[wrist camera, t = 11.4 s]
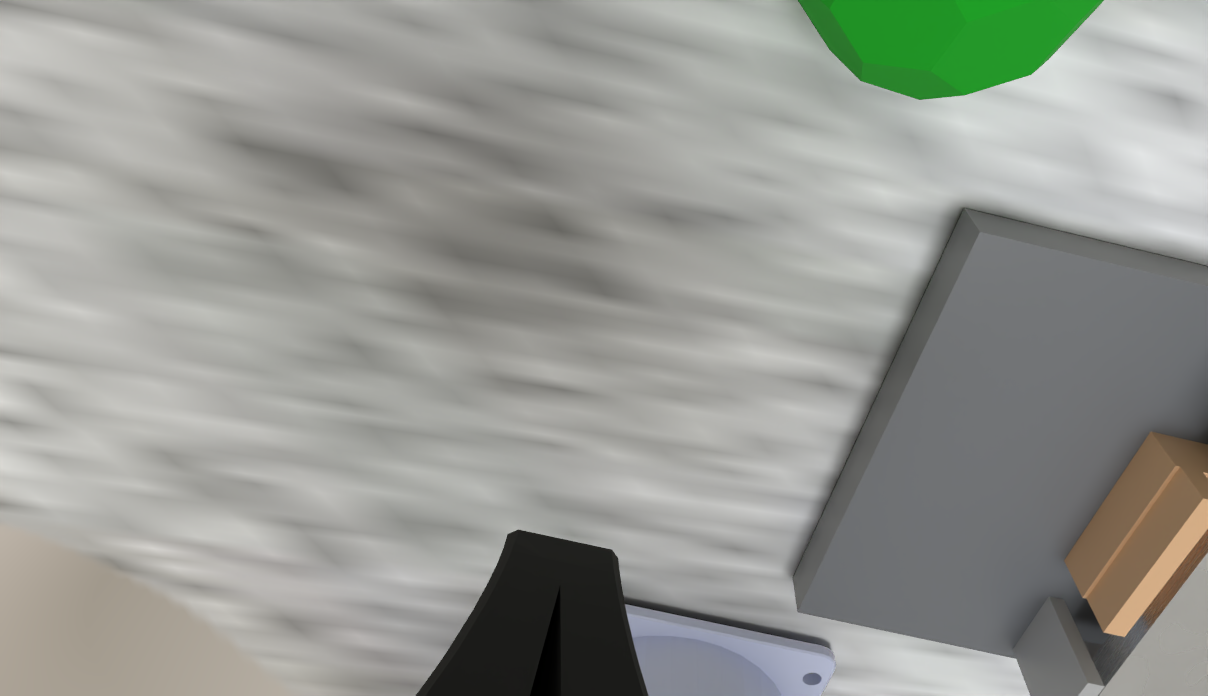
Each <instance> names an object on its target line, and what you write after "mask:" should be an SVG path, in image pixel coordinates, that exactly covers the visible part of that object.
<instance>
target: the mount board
mask: <svg viewBox="0 0 1208 696" xmlns="http://www.w3.org/2000/svg"><path fill="white" fill-rule="evenodd" d="M1207 529H1208V266H1203V265H1199V264H1195V263H1191V262H1187V261H1183V260H1178V259H1174V258H1170V257H1166V256H1162V255H1158V254H1153V253H1149V252H1145V251H1141V250H1137V249H1133V248H1128V247H1124V246H1120V245H1116V244H1112V243H1108V242H1104V241H1099V240H1095V239H1091V238H1087V237H1083V236H1079V235H1074V234H1070V233H1066V232H1062V231H1058V230H1054V229H1049V228H1045V227H1041V226H1037V225H1033V224H1029V223H1024V222H1020V221H1016V220H1012V219H1008V218H1004V217H999V216H995V215H991V214H987V213H983V212H979V211H974V210H970V209H966V208H964V209H963V211H962V213H961V216H960V218H959V220H958V222H957V224H956V226H955V229H954V231H953V233H952V235H951V237H950V239H949V242H948V244H947V246H946V248H945V250H944V252H943V255H942V257H941V259H940V261H939V263H938V265H937V267H936V270H935V272H934V274H933V276H932V278H931V280H930V283H929V285H928V287H927V289H926V291H925V293H924V296H923V298H922V300H921V302H920V304H919V306H918V309H917V311H916V313H915V315H914V317H913V319H912V322H911V324H910V326H909V328H908V330H907V332H906V334H905V337H904V339H903V341H902V343H901V345H900V347H899V350H898V352H897V354H896V356H895V358H894V360H893V363H892V365H891V367H890V369H889V371H888V373H887V376H886V378H885V380H884V382H883V384H882V386H881V389H880V391H879V393H878V395H877V397H876V399H875V401H874V404H873V406H872V408H871V410H870V412H869V414H868V417H867V419H866V421H865V423H864V425H863V427H862V430H861V432H860V434H859V436H858V438H857V440H856V443H855V445H854V447H853V449H852V451H851V453H850V456H849V458H848V460H847V462H846V464H845V466H844V468H843V471H842V473H841V475H840V477H839V479H838V481H837V484H836V486H835V488H834V490H833V492H832V494H831V497H830V499H829V501H828V503H827V505H826V507H825V510H824V512H823V514H822V516H821V518H820V520H819V523H818V525H817V527H816V529H815V531H814V533H813V535H812V538H811V540H810V542H809V544H808V546H807V548H806V551H805V553H804V555H803V557H802V559H801V561H800V564H799V566H798V568H797V570H796V572H795V574H794V577H793V583H794V590H795V597H796V604H797V611H798V612H800V613H804V614H809V615H814V616H818V617H823V618H828V619H832V620H837V621H842V622H847V623H851V624H856V625H861V626H865V627H870V628H875V629H879V630H884V631H889V632H894V633H898V634H903V635H908V636H912V637H917V638H922V639H926V640H931V641H936V642H940V643H945V644H950V645H955V646H959V647H964V648H969V649H973V650H978V651H983V652H987V653H992V654H997V655H1002V656H1006V657H1011V658H1016V659H1017V662H1018V664H1019V667H1020V669H1021V672H1022V675H1023V677H1024V680H1025V682H1026V685H1027V688H1028V690H1029V693H1030V695H1031V696H1098V695H1099V693H1100V692H1101V691H1102V689H1103V688H1104V687H1105V686H1104V684H1103V682H1102V679H1101V677H1100V675H1099V673H1098V671H1097V669H1096V667H1095V665H1094V662H1093V660H1092V659H1093V657H1094V656H1095V655H1096V653H1097V652H1098V650H1099V649H1100V648H1101V646H1102V645H1103V644H1104V642H1105V641H1106V639H1107V638H1108V637H1109V635H1110V634H1113V635H1117V636H1122V637H1125V636H1126V635H1127V633H1128V632H1129V631H1130V630H1131V628H1132V627H1133V626H1134V624H1135V623H1136V622H1137V620H1138V619H1139V618H1140V616H1141V615H1142V614H1143V613H1144V611H1145V610H1146V609H1147V607H1148V606H1149V605H1150V603H1151V602H1152V601H1153V599H1154V598H1155V597H1156V596H1157V594H1158V593H1159V592H1160V590H1161V589H1162V588H1163V586H1164V585H1165V584H1166V583H1167V581H1168V580H1169V579H1170V577H1171V576H1172V575H1173V573H1174V572H1175V571H1176V569H1177V568H1178V567H1179V566H1180V564H1181V563H1182V562H1183V560H1184V559H1185V558H1186V556H1187V555H1188V554H1189V553H1190V551H1191V550H1192V549H1193V547H1194V546H1195V545H1196V543H1197V542H1198V541H1199V539H1200V538H1201V537H1202V536H1203V534H1204V533H1205V532H1206V530H1207Z"/></svg>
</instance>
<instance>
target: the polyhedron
mask: <svg viewBox="0 0 1208 696" xmlns="http://www.w3.org/2000/svg"><path fill="white" fill-rule="evenodd" d="M798 1H799V3H800V4H801V6H802V7H803V9H804V11H805V12H806V14H807V15H808V17H809V18H810V20H811V21H812V23H813V25H814V26H815V28H816V29H817V31H818V32H819V34H820V36H821V37H822V39H823V40H824V42H825V43H826V45H827V46H828V48H829V50H830V51H831V52H832V53H833V54H834V55H835V56H836V57H837V58H838V59H839V60H840V61H841V62H842V63H843V64H844V65H845V66H846V67H847V68H848V69H849V70H850V71H851V72H852V73H853V74H854V75H855V76H856V77H857V78H858V79H859V80H860V81H863V82H866V83H869V84H872V85H875V86H878V87H882V88H885V89H888V90H891V91H894V92H897V93H900V94H903V95H906V96H910V97H913V98H916V99H919V100H922V99H932V98H942V97H952V96H962V95H967V94H970V93H973V92H977V91H980V90H983V89H986V88H990V87H993V86H996V85H999V84H1002V83H1006V82H1009V81H1012V80H1015V79H1019V78H1022V77H1025V76H1028V75H1031V74H1032V73H1034V72H1035V71H1036V70H1037V69H1038V68H1039V67H1040V66H1042V65H1043V64H1044V63H1045V62H1046V61H1047V60H1048V59H1049V58H1050V57H1051V56H1052V55H1053V54H1054V53H1055V52H1056V51H1057V50H1058V49H1059V48H1060V47H1061V46H1062V45H1063V43H1064V42H1065V41H1066V40H1067V39H1068V38H1069V37H1070V36H1071V35H1072V34H1073V33H1074V32H1075V31H1076V30H1077V29H1078V28H1079V26H1080V25H1081V24H1082V23H1083V22H1084V21H1085V20H1086V19H1087V18H1088V17H1089V16H1090V15H1091V14H1092V13H1093V12H1094V11H1095V9H1096V8H1097V7H1098V6H1099V5H1100V4H1101V3H1102V2H1103V1H1104V0H798Z"/></svg>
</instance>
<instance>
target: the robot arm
mask: <svg viewBox="0 0 1208 696" xmlns="http://www.w3.org/2000/svg"><path fill="white" fill-rule="evenodd" d="M835 667H836V662H835V656H834V654H833V652H832V651H831V650H830V649H829V648H827V647H824V646H821V645H817V644H812V643H807V642H802V641H798V640H793V639H788V638H783V637H779V636H774V635H769V634H764V633H760V632H755V631H750V630H746V629H741V628H736V627H731V626H727V625H722V624H717V623H712V622H708V621H703V620H698V619H693V618H689V617H684V616H679V615H674V614H670V613H665V612H660V611H656V610H651V609H646V608H641V607H637V606H632V605H627V604H625V603H624V597H623V592H622V586H621V579H620V572H619V563H618V557H617V556H616V555H615V553H614V552H613V551H612V550H611V549H606V548H601V547H597V546H592V545H587V544H583V543H578V542H573V541H569V540H564V539H559V538H555V537H550V536H545V535H541V534H536V533H531V532H527V531H522V530H516V531H514V532H512V533H510V534H508V535H507V539H506V542H505V545H504V548H503V551H502V554H501V556H500V558H499V561H498V563H497V566H496V568H495V570H494V572H493V574H492V576H491V578H490V580H489V582H488V584H487V586H486V588H485V590H484V591H483V593H482V595H481V597H480V599H479V601H478V602H477V604H476V606H475V608H474V610H473V611H472V613H471V614H470V616H469V618H468V619H467V621H466V622H465V624H464V626H463V627H462V629H461V630H460V632H459V634H458V635H457V637H456V638H455V640H454V642H453V643H452V645H451V646H450V648H449V649H448V651H447V653H446V654H445V656H444V657H443V659H442V660H441V662H440V663H439V664H438V666H437V667H436V669H435V670H434V671H433V673H432V674H431V675H430V677H429V678H428V680H427V681H426V682H425V684H424V685H423V686H422V688H421V689H420V691H419V692H418V693H417V695H416V696H821V695H822V693H823V691H824V689H825V687H826V686H827V684H828V682H829V680H830V678H831V676H832V674H833V672H834V671H835ZM808 673H813V674H808Z"/></svg>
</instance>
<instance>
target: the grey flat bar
mask: <svg viewBox="0 0 1208 696" xmlns="http://www.w3.org/2000/svg"><path fill="white" fill-rule="evenodd" d="M1092 660H1093V662H1094V665H1095V667H1096V669H1097V671H1098V673H1099V675H1100V677H1101V679H1102V682H1103V684H1104V686H1105V687H1104V688H1103V689H1102V691H1101V692H1100V693H1099V695H1098V696H1208V529H1207V530H1206V532H1205V533H1204V534H1203V536H1202V537H1201V538H1200V539H1199V541H1198V542H1197V543H1196V545H1195V546H1194V547H1193V549H1192V550H1191V551H1190V553H1189V554H1188V555H1187V556H1186V558H1185V559H1184V560H1183V562H1182V563H1181V564H1180V566H1179V567H1178V568H1177V569H1176V571H1175V572H1174V573H1173V575H1172V576H1171V577H1170V579H1169V580H1168V581H1167V583H1166V584H1165V585H1164V586H1163V588H1162V589H1161V590H1160V592H1159V593H1158V594H1157V596H1156V597H1155V598H1154V599H1153V601H1152V602H1151V603H1150V605H1149V606H1148V607H1147V609H1146V610H1145V611H1144V613H1143V614H1142V615H1141V616H1140V618H1139V619H1138V620H1137V622H1136V623H1135V624H1134V626H1133V627H1132V628H1131V630H1130V631H1129V632H1128V633H1127V635H1126V636H1125V637H1122V636H1117V635H1113V634H1110V635H1109V637H1108V638H1107V639H1106V641H1105V642H1104V644H1103V645H1102V646H1101V648H1100V649H1099V650H1098V652H1097V653H1096V655H1095V656H1094V657H1093V659H1092Z"/></svg>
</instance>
